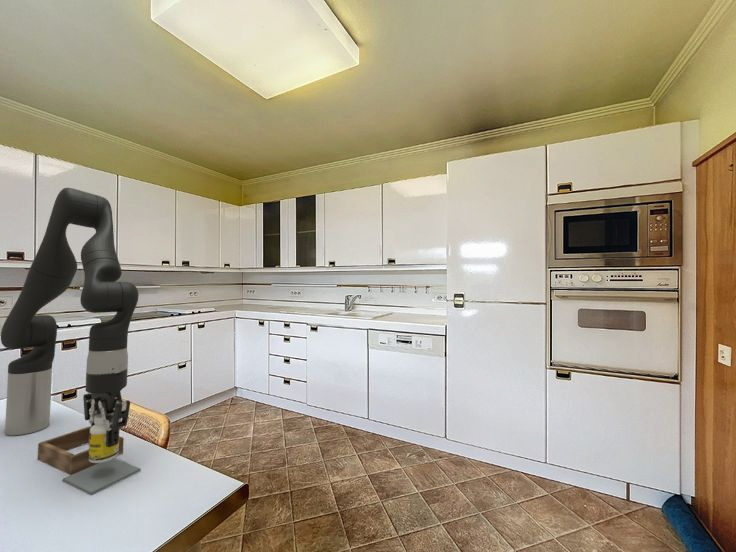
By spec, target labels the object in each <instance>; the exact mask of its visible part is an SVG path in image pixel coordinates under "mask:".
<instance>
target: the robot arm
mask: <svg viewBox="0 0 736 552" xmlns="http://www.w3.org/2000/svg"><path fill="white" fill-rule="evenodd" d="M54 200H55V201H54V203H53V207H52V210H51V213H50V216H49V219H48V223H47V227H46V229H45V233H44V235H43V238H42V241H41V243H40V245H39V247H38V249H37V252H36V254H35V256H34V258H33V261H32V263H31V265H30V268H29V270H28V273H27V275H26V277H25V280H24V284H23V287H22V288H21V291H20V293H19V295H18V298H17V300H16V301H15V303H14V305H13V307H12V309H11V310H10V312H9V314H8V316H7V317H6V319H5V321H4V323H3V325H2V328H1V331H0V342H1V344H2V346H3V348H6V349H11V350H12V349H13V350H18V349H28V348H33V349H32V350H31V351H29V352H28V353H27V354H25V355H23V356H21V357H19V358H17V359H14V360H12V361H11V362H10V363H8V364H7V365H8V366H7V386H6V400H5V401H6V402H5V403H6V404H5V407H6V408H5V420H4V421H5V422H4V424H5V425H4V434H5V435H6V436H21V435H27V434H28V435H29V434H31V433H36V432H39V431H42V430H44V429H47V428H48V427H49V426H50V424H51V423H50V421H51V420H50V419H51V403H52V402H51V401H52V380H53V379H52V378H53V363H54V359H55V352H56V345H57V344H56V342H57V335H58V325H57V321H56V319H55V318H54V317H53V315H49V314H39V315H38V314H37V313H38V312H39V311H40V310H41V309H42V308H44V307H45V306H46V305H48V304H50V303H51V302H52V301H54V300H56V299H57V298H58V297H60V296H61V295H63V294H64V293H65V292H66V291H67V290H68V289H69V287H70V285H72V282H73V279H74V277H75V275H76V274H77V270H78V263H77V259H76V256H75V254H74V253H73V251H72V248H71V247H70V244H69V241H68V238H67V229H68V227H69V225H75V226H78V227H85V228H88V229H89V228H91V229H94V230H95V233H94V234H93V235H92V236H91V237H90V238H89V239H88V240H87V241H86V242H84V245H83V246H82V248H81V251H80V260H81V264H82V269H83V272H84V282H83V286H82V290H81V293H80V298H79V299H80V305H81V306H82V308H83V309H84V310H85V311H87V312H89V313H92V314H96V313H97V314H102V313H115V315H114V316H113V318H111V319H110V320H106V321H103V322H99V323H95V324H94V325H92V326H90V329H89V335H88V337H89V338H88V353H87V357H86V367H85V368H86V370H85V371H86V372H85V392H86V393H84V394H83V395H82V396H83V397H82V399H83V412H84V420H85V421H88V424H89V426H91V427H92V426H93V425H95V424H94V416H95V415H97V414H100V413H101V414H102V419H103V421H105V422H106V426H107V434H106V446H107V447H112V446H114V445H117V444H118V442H119V436H120V428H122V427H126V426H127V425H128V419H129V413H130V408H131V407H130V406H131V401H130V400H129V399H128V400H123V399H122V394H121V393H122V392H121V391H122V390H123V389H124V388H126V387H127V385H128V368H129V364H128V363H129V352H128V338H129V337H128V336H129V335H128V334H129V333H128V332H129V328H130V325H131V324H130V323H131V320H132V317H133V314H134V312H135V310H136V307H137V305H138V301H139V290H138V288H137V286H136V285H135V284H133V283H132V282H127V281H118V280H119V279H120V278H121V276H122V267H121V265H120V261H119V258H118V253H117V252H116V247H115V237H114V236H115V235H114V232H115V231H114V220H113V219H114V217H113V211H112V205H111V203H110V201H109V200H108V199H107V198H105V197H104V196H102V195H98V194H95V193H90V192H87V191H83V190H80V189H76V188H72V187H64V188H62V189H61V190H60V191H59V192H58V194H57V196H56V198H55V199H54ZM36 314H37V315H36ZM111 413H114V415H111V416H109V415H108V414H111ZM112 418H113V422H112V423H111V419H112Z"/></svg>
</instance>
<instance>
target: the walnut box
mask: <svg viewBox="0 0 736 552" xmlns="http://www.w3.org/2000/svg"><path fill="white" fill-rule="evenodd" d="M90 429H91V425H89V426H86V427H83V428H80V429H77V430H74V431H71V432H69V433H64V434H62V435H59V436H56V437H53V438H50V439H46V440H44V441H41V442H38V445H37V459H36V460H37V461H40V462H41V463H44V464H46V465H48V466H50V467H53V468H54V469H57V470H59V471H61V472H63V473H65V474H67V475H68V476H70V475H72V474H74V473H77V472H79V471H81V470H84V469H86V468H89V467H91V466H93V465H96V464H98V463H92V462H90V461H89V448H88V449H86V450H83V451H80V452H78V453H72V452H69V450H72V449H75V448H78V447H80V446H83V445H86V444H89V439H90ZM124 441H125V439H124V437H123V436H120V435H119V453H118V455H117V456H116V457H118V456H120V455H122V453H123V454H124Z"/></svg>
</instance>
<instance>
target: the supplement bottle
mask: <svg viewBox="0 0 736 552" xmlns="http://www.w3.org/2000/svg"><path fill="white" fill-rule="evenodd" d="M108 415H109V416H111V415H114V413H111V414H108ZM112 422H113V418H112V419H111V423H112ZM94 424H95V425H93V426H92V427H91V429H90V439H89V443H88V444H89V445H88V449H89V461H90V462H92V463H102V462H106V461H109V460H111V459H113V458H116V457H118V456H119V455H118V453H119V442H118V444H117V445H114V446H112V447H107V446H106V434H107V426H106V422H105V421H103V419H102V414H101V413H100V414H97V415H95V416H94ZM117 455H118V456H117Z"/></svg>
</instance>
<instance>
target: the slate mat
mask: <svg viewBox="0 0 736 552" xmlns="http://www.w3.org/2000/svg"><path fill="white" fill-rule="evenodd" d="M139 472H141V468H140V467H138V466H135V465H133V464H130V463H129V462H125V461H123V460H120V459H118V458H116V457H115V458H113V459H111V460H109V461H106V462H102V463H98V464H96V465H93V466H91V467H89V468H86V469H84V470H81V471H79V472H77V473H74V474H72V475H67V476H66V477H63V478H62V482H64V483H66V484H68V485H69V486H72V487H73V488H75V489H77V490H79V491H81V492H83V493H86V494H87V495H89V496H93V495H95V494H97V493H100V492H101V491H103V490H105V489H107V488H110V487H111V486H114V485H115V484H117V483H119V482H121V481H123V480H126V479H127V478H129V477H132V476H134V475H135V474H138V473H139Z"/></svg>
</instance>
